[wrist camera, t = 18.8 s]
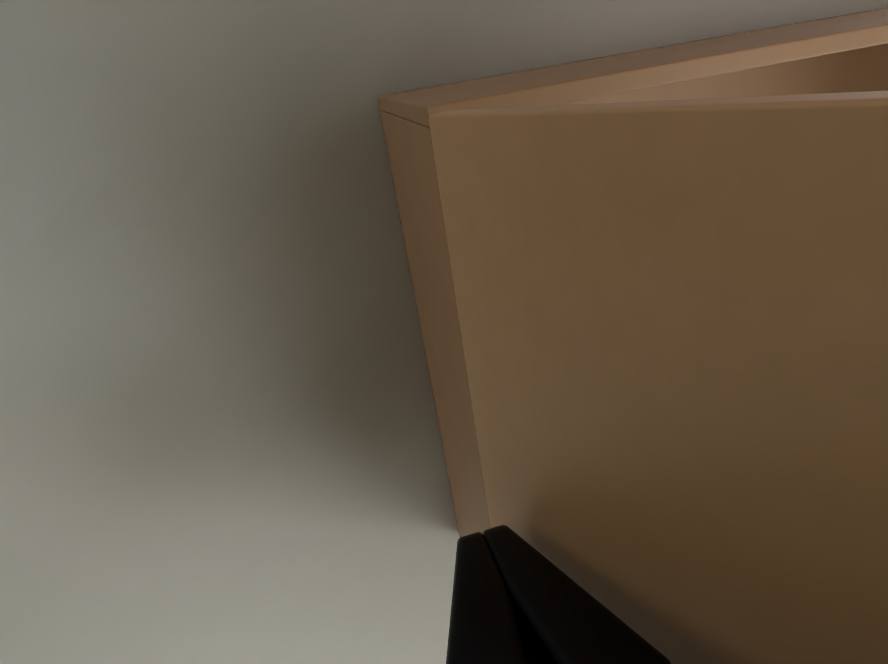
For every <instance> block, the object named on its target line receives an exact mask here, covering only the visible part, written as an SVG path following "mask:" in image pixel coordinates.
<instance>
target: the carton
mask: <svg viewBox="0 0 888 664" xmlns="http://www.w3.org/2000/svg"><path fill="white" fill-rule="evenodd" d="M867 91H888V8H882V9H876V10H870V11H865V12H859V13H853V14H847V15H842V16H836V17H830V18H824V19H819V20H813V21H807V22H801V23H796V24H790V25H784V26H778V27H773V28H767V29H761V30H755V31H750V32H744V33H738V34H732V35H727V36H721V37H715V38H709V39H704V40H698V41H692V42H686V43H681V44H675V45H669V46H663V47H658V48H652V49H646V50H640V51H635V52H629V53H623V54H617V55H612V56H606V57H600V58H594V59H589V60H583V61H577V62H571V63H566V64H560V65H554V66H548V67H543V68H537V69H531V70H525V71H520V72H514V73H508V74H502V75H497V76H491V77H485V78H479V79H474V80H468V81H462V82H456V83H451V84H445V85H439V86H433V87H428V88H422V89H416V90H410V91H405V92H399V93H393V94H387V95H382V96H378V101H379V106H380V112H381V117H382V122H383V128H384V133H385V138H386V144H387V149H388V155H389V160H390V165H391V171H392V176H393V181H394V187H395V192H396V198H397V203H398V208H399V214H400V219H401V224H402V230H403V235H404V241H405V246H406V251H407V257H408V262H409V268H410V273H411V278H412V284H413V289H414V294H415V300H416V305H417V311H418V316H419V321H420V327H421V332H422V337H423V343H424V348H425V354H426V359H427V364H428V370H429V375H430V380H431V386H432V391H433V397H434V402H435V407H436V413H437V418H438V423H439V429H440V434H441V440H442V445H443V450H444V456H445V461H446V467H447V472H448V477H449V483H450V488H451V493H452V499H453V504H454V510H455V515H456V520H457V526H458V531H459V535H460V537H462V536H466V535H469V534H472V533H476V532H480V533H482V534H483V532H484V530H486V529H490V528H491V527H490V520H489V514H488V507H487V500H486V494H485V487H484V481H483V474H482V467H481V461H480V454H479V448H478V441H477V434H476V428H475V421H474V415H473V408H472V401H471V395H470V388H469V382H468V375H467V368H466V362H465V355H464V349H463V342H462V335H461V329H460V322H459V316H458V309H457V302H456V296H455V289H454V283H453V276H452V269H451V263H450V256H449V250H448V243H447V236H446V230H445V223H444V216H443V210H442V203H441V197H440V190H439V183H438V177H437V170H436V164H435V157H434V150H433V144H432V137H431V131H430V124H429V116H430V115H431V114H434V113H438V112H443V111H447V110H458V109H480V108H503V107H526V106H549V105H571V104H594V103H617V102H639V101H662V100H685V99H708V98H730V97H753V96H776V95H798V94H821V93H844V92H867Z"/></svg>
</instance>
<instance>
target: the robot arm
mask: <svg viewBox="0 0 888 664" xmlns="http://www.w3.org/2000/svg"><path fill="white" fill-rule="evenodd" d="M446 664H671V661H670V660H669V659H668V658H667V657H665V656H664V655H663V654H662V653H661V652H659V651H658V650H657V649H656V648H654V647H653V646H652V645H651V644H650V643H648V642H647V641H646V640H645V639H644V638H642V637H641V636H640V635H639V634H638V633H636V632H635V631H634V630H633V629H632V628H630V627H629V626H628V625H627V624H625V623H624V622H623V621H622V620H621V619H619V618H618V617H617V616H616V615H615V614H613V613H612V612H611V611H610V610H609V609H607V608H606V607H605V606H604V605H602V604H601V603H600V602H599V601H598V600H596V599H595V598H594V597H593V596H592V595H590V594H589V593H588V592H587V591H586V590H584V589H583V588H582V587H581V586H580V585H578V584H577V583H576V582H575V581H573V580H572V579H571V578H570V577H569V576H567V575H566V574H565V573H564V572H563V571H561V570H560V569H559V568H558V567H557V566H555V565H554V564H553V563H552V562H550V561H549V560H548V559H547V558H546V557H544V556H543V555H542V554H541V553H540V552H538V551H537V550H536V549H535V548H534V547H532V546H531V545H530V544H529V543H527V542H526V541H525V540H524V539H523V538H521V537H520V536H519V535H518V534H517V533H515V532H514V531H513V530H512V529H511V528H509V527H508V526H506V525H500V526H496V527H493V528H490V529H486V530H484V532H483V534H482V533H480V532H476V533H472V534H469V535H466V536H462V537H460V538H459V539H458V542H457V552H456V563H455V574H454V585H453V595H452V606H451V617H450V628H449V638H448V649H447V660H446Z"/></svg>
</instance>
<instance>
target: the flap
mask: <svg viewBox="0 0 888 664" xmlns="http://www.w3.org/2000/svg"><path fill="white" fill-rule="evenodd" d="M429 124H430V131H431V137H432V144H433V150H434V157H435V164H436V170H437V177H438V183H439V190H440V197H441V203H442V210H443V216H444V223H445V230H446V236H447V243H448V250H449V256H450V263H451V269H452V276H453V283H454V289H455V296H456V302H457V309H458V316H459V322H460V329H461V335H462V342H463V349H464V355H465V362H466V368H467V375H468V382H469V388H470V395H471V401H472V408H473V415H474V421H475V428H476V434H477V441H478V448H479V454H480V461H481V467H482V474H483V481H484V487H485V494H486V500H487V507H488V514H489V520H490V527H491V528H493V527H496V526H500V525H506V526H508V527H509V528H511V529H512V530H513V531H514V532H515V533H517V534H518V535H519V536H520V537H521V538H523V539H524V540H525V541H526V542H527V543H529V544H530V545H531V546H532V547H534V548H535V549H536V550H537V551H538V552H540V553H541V554H542V555H543V556H544V557H546V558H547V559H548V560H549V561H550V562H552V563H553V564H554V565H555V566H557V567H558V568H559V569H560V570H561V571H563V572H564V573H565V574H566V575H567V576H569V577H570V578H571V579H572V580H573V581H575V582H576V583H577V584H578V585H580V586H581V587H582V588H583V589H584V590H586V591H587V592H588V593H589V594H590V595H592V596H593V597H594V598H595V599H596V600H598V601H599V602H600V603H601V604H602V605H604V606H605V607H606V608H607V609H609V610H610V611H611V612H612V613H613V614H615V615H616V616H617V617H618V618H619V619H621V620H622V621H623V622H624V623H625V624H627V625H628V626H629V627H630V628H632V629H633V630H634V631H635V632H636V633H638V634H639V635H640V636H641V637H642V638H644V639H645V640H646V641H647V642H648V643H650V644H651V645H652V646H653V647H654V648H656V649H657V650H658V651H659V652H661V653H662V654H663V655H664V656H665V657H667V658H668V659H669V660H670V661H671V664H888V91H867V92H844V93H821V94H798V95H776V96H753V97H730V98H708V99H685V100H662V101H639V102H617V103H594V104H571V105H549V106H526V107H503V108H480V109H458V110H447V111H443V112H438V113H434V114H431V115H430V116H429Z"/></svg>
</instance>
